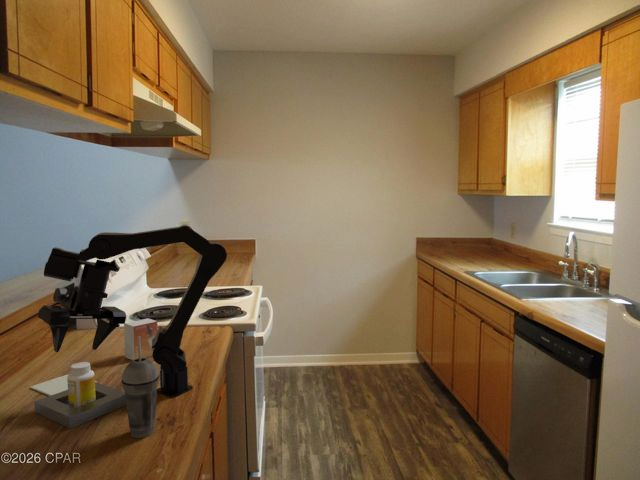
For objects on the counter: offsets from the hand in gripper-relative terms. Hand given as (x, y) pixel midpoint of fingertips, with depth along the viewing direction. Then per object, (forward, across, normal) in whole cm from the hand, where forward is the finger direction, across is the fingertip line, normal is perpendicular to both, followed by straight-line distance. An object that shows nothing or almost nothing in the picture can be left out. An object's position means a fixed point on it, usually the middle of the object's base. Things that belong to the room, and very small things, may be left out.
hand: (75, 350), depth 113 cm
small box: (+9, -31, -13) cm, 34 cm away
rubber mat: (+13, -6, -10) cm, 18 cm away
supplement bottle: (+12, -2, +6) cm, 13 cm away
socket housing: (+12, -2, +6) cm, 13 cm away
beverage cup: (+8, -2, +27) cm, 28 cm away
